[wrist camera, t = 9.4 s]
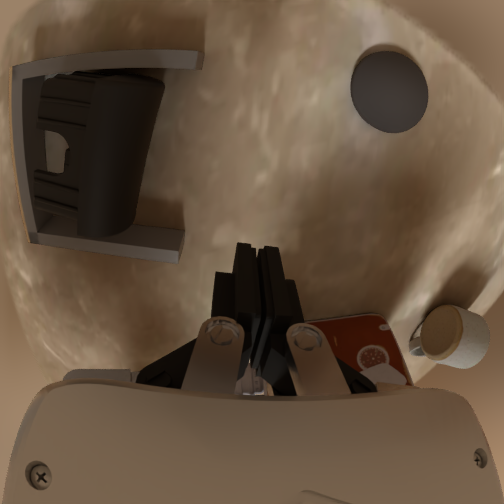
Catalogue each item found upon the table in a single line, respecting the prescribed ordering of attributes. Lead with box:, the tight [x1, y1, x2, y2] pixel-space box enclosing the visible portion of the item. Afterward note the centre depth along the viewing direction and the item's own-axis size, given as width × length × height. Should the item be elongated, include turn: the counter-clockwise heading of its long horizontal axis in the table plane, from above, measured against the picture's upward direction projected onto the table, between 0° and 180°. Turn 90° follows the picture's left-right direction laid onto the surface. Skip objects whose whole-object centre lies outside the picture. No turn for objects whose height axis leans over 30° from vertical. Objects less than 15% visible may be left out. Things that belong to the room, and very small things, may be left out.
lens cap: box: [351, 51, 428, 133], centre depth 18 cm, size 6×6×1 cm
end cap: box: [34, 71, 165, 238], centre depth 17 cm, size 10×7×7 cm
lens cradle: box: [9, 49, 204, 264], centre depth 19 cm, size 15×14×3 cm
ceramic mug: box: [409, 305, 490, 369], centre depth 31 cm, size 11×8×8 cm
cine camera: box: [235, 313, 414, 396], centre depth 25 cm, size 9×19×20 cm, turn 95°
